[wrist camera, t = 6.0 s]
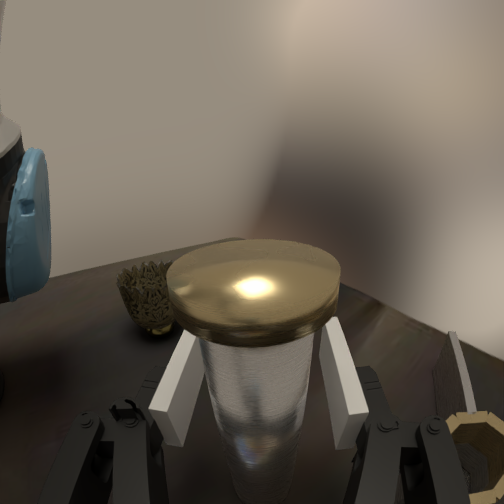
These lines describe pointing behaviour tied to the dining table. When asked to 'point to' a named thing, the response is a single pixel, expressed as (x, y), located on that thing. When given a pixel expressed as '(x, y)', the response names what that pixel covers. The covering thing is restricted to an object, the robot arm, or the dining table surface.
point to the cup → (148, 297)
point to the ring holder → (467, 427)
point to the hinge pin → (256, 347)
